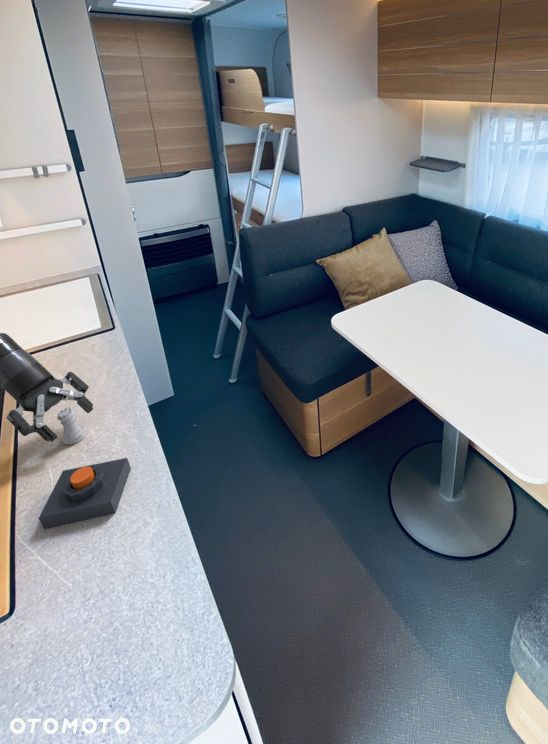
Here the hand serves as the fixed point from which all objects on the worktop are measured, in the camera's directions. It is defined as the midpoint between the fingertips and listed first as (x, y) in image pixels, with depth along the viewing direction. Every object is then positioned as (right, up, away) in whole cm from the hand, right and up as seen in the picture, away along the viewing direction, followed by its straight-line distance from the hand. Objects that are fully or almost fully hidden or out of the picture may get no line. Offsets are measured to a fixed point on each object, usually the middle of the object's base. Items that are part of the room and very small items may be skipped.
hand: (73, 424), depth 93 cm
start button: (+11, -5, -13) cm, 18 cm away
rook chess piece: (-1, -4, +2) cm, 5 cm away
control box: (+12, -9, -11) cm, 19 cm away
